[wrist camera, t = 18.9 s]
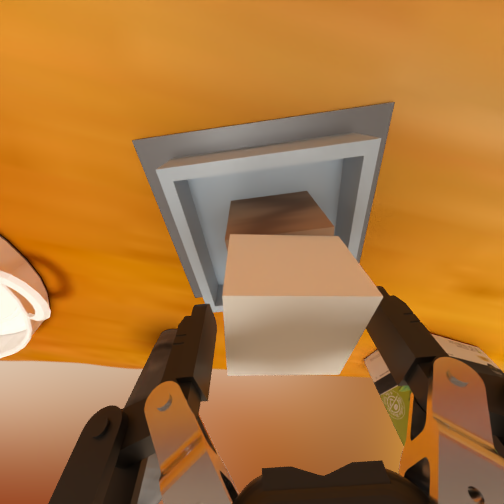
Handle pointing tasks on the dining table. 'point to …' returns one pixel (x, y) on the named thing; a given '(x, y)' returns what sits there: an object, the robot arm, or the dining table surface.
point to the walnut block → (278, 216)
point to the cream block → (293, 304)
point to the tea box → (399, 396)
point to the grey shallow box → (263, 179)
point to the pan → (19, 300)
